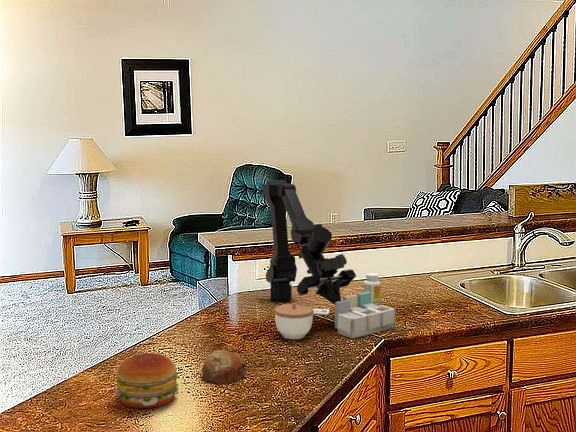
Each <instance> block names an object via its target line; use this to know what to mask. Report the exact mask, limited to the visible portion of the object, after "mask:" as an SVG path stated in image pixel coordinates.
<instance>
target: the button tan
mask: <svg viewBox="0 0 576 432" xmlns="http://www.w3.org/2000/svg"><path fill="white" fill-rule="evenodd" d="M342 300H350V312H351V311H357V312H360V313H363V314H366V315H368V314H369V310H366V309H363V308H360V307H357V294H348V295H345V296H342Z"/></svg>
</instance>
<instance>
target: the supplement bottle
mask: <svg viewBox="0 0 576 432" xmlns="http://www.w3.org/2000/svg"><path fill="white" fill-rule="evenodd" d="M365 278H366V280H364V282H363V292H371V304H374V305H377V306H379V305H381V281H379V274H378V273H377V272H376V273H375V272H370V273H366V275H365Z"/></svg>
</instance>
